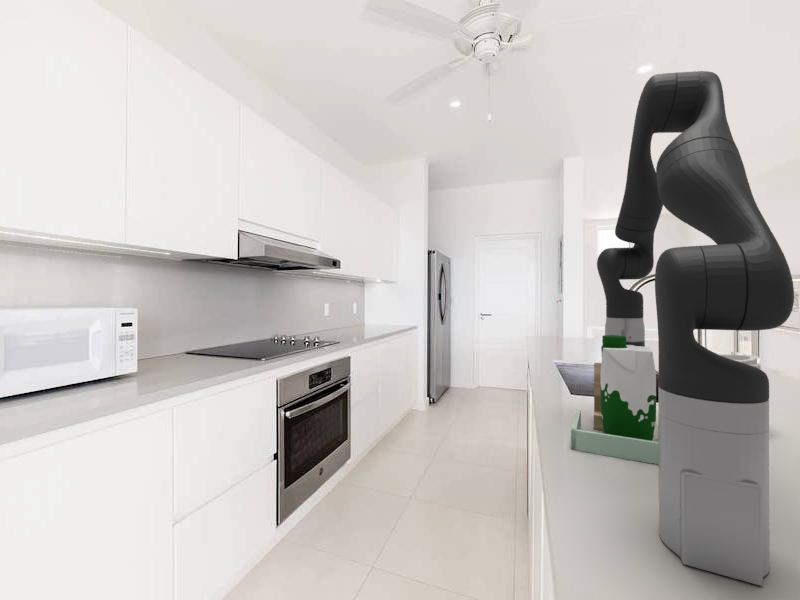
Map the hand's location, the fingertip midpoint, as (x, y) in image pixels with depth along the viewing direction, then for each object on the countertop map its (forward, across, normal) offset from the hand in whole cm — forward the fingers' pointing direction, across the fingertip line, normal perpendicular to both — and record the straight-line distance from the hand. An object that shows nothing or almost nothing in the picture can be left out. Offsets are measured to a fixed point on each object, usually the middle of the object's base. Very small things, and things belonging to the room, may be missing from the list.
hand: (624, 415), depth 82 cm
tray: (+1, -15, -1) cm, 15 cm away
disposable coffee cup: (+2, +6, -19) cm, 20 cm away
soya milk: (+1, -12, 0) cm, 13 cm away
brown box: (+1, -5, +1) cm, 6 cm away
